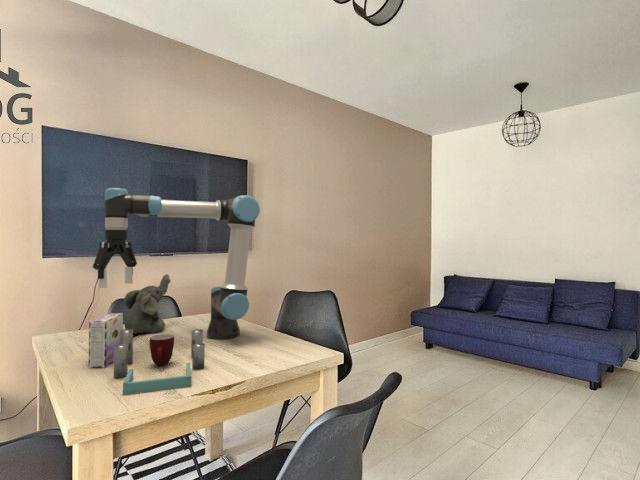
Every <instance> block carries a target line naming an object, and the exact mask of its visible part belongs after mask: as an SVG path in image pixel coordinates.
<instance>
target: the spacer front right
mask: <svg viewBox="0 0 640 480" xmlns="http://www.w3.org/2000/svg"><path fill="white" fill-rule="evenodd" d="M128 367H129V365H128V344H118V345H115V346H114V362H113V379H115V380H116V379H117V380H119V379H125V378H126V376H127V373H128V371H129V369H128Z"/></svg>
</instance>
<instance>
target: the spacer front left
mask: <svg viewBox="0 0 640 480" xmlns="http://www.w3.org/2000/svg"><path fill="white" fill-rule="evenodd" d="M205 346H206V345H205V343H203V342H202V343H197V344H193V345H192V359H191V360H192V361H191V363H192V365H191V366H192V367H191V368H192V369H191V370H195V371H198V370H199V371H200V370H202V369H204V368H205Z"/></svg>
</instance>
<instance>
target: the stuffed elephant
mask: <svg viewBox="0 0 640 480" xmlns="http://www.w3.org/2000/svg"><path fill="white" fill-rule="evenodd" d="M170 283H171V278H170V275H169V273H168V274H165V275H163V276H162V278H161V280H160V283H159V286H156V285H147V286H145V287H143V288H140V289H136V290H131V291H129V292H127V293H126V294H125V295H124V298H123V302H124V305H125V307H126V308H127V309H129V311H128V314H127V315H126V317H125V320H124V323H123V326H124V328H125V329H133V333H138V334H137V335H141V334H143V333H148V334H149V333H150V334H154V333H158V332H160V331H162V330H164V329H165V327H166V323H165V320H164V319H162V318H160V316H159V315H160V314H159V313H158V303H159V302H160V301H161V299H162V298H163V297H164V296H165V295H166V293H167V292H168V288H169V284H170Z"/></svg>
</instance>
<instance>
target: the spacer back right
mask: <svg viewBox="0 0 640 480" xmlns="http://www.w3.org/2000/svg"><path fill="white" fill-rule="evenodd" d="M120 344H128V366H130V365H132V364H133V363H134V362H133V361H134V360H133V358H134V357H133V354H134V353H133V352H134V351H133V350H134V348H133V347H134V346H133V345H134V335H133V329H124V328H123V330H121V331H120Z"/></svg>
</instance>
